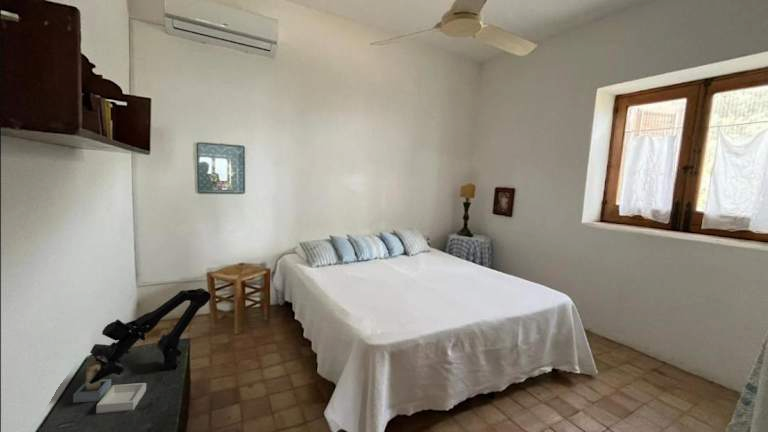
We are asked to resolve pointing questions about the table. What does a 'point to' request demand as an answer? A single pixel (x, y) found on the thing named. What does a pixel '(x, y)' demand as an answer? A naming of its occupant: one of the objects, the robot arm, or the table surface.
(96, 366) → the birch dowel
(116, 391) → the tray
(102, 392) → the socket block
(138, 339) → the robot arm
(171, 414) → the table surface
